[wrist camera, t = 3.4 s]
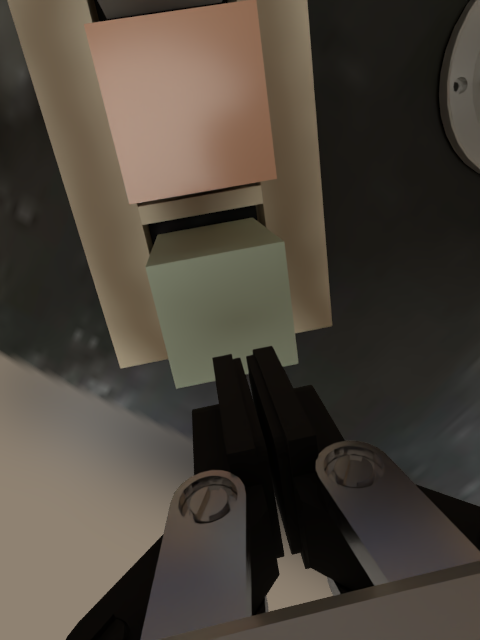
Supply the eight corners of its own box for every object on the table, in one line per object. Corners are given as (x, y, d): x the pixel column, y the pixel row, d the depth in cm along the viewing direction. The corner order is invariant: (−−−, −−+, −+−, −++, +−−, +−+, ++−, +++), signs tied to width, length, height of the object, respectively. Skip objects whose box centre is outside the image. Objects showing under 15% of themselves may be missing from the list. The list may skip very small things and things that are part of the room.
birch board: (273, -183, 20) (288, -241, 17) (318, 310, 29) (332, 325, 26) (-20, -149, 19) (-56, -203, 16) (126, 348, 28) (120, 368, 26)
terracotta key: (230, 59, 20) (256, -2, 13) (246, 174, 23) (277, 178, 15) (120, 76, 20) (83, 24, 13) (147, 191, 22) (129, 204, 15)
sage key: (252, 217, 23) (284, 241, 16) (265, 306, 26) (298, 363, 18) (157, 234, 23) (145, 267, 16) (178, 323, 25) (176, 388, 18)
